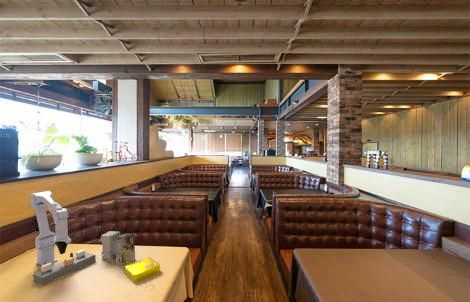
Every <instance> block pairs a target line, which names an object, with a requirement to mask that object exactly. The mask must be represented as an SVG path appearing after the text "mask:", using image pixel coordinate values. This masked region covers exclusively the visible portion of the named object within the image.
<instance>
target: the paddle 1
mask: <svg viewBox="0 0 470 302" xmlns="http://www.w3.org/2000/svg"><path fill="white" fill-rule="evenodd" d="M52 266H53V263H48V264H45V265H40V268H41V271H42V272H46V271H48V270H51V269H52Z"/></svg>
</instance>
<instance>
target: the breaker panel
mask: <svg viewBox="0 0 470 302" xmlns="http://www.w3.org/2000/svg"><path fill="white" fill-rule="evenodd" d="M73 258H74V263H73V264H71V265H68V266H65V265H64V261H63V262H60V263H57V264H54V265H52V269H51V270H48V271H46V272H42V271H38V272H37V271H36V273H33V282H34V283H37V284H39V285H41V286H44V285H47V284H49V283H51V282H53V280H54V281H56V280H57V278H58V279H60V278H62V277H64V276H66V274H67V275H69V274H71V273H73V272H75V271H77V270H80V269H81V267H82V268H84V267H86V266H88V265H90V264H93V263H94V261H95V262H96V261H97V260H96V259H97V258H96V254H94V253H91V252H86V251H85V255H84V256H82V257H79V258H78V257H76V256H73ZM68 273H69V274H68ZM63 275H64V276H63ZM61 276H62V277H61ZM59 277H60V278H59ZM55 279H56V280H55Z"/></svg>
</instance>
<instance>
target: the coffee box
mask: <svg viewBox="0 0 470 302" xmlns="http://www.w3.org/2000/svg"><path fill="white" fill-rule="evenodd" d="M115 251H116V258H115V264H116V265H119V266H121V267H122V266H124V265H125V266H126V265H128V264H130V263H131V262H132V261H136V247H135V234H134V233H130V232H126V233H124V234H120V236H118V237H115Z"/></svg>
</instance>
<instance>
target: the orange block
mask: <svg viewBox="0 0 470 302" xmlns="http://www.w3.org/2000/svg"><path fill="white" fill-rule="evenodd" d="M63 262H64V265H65V266H68V265H71V264H73V263H74V256H73V257H71V258H70V257H68V258H65V259H64V261H63Z"/></svg>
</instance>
